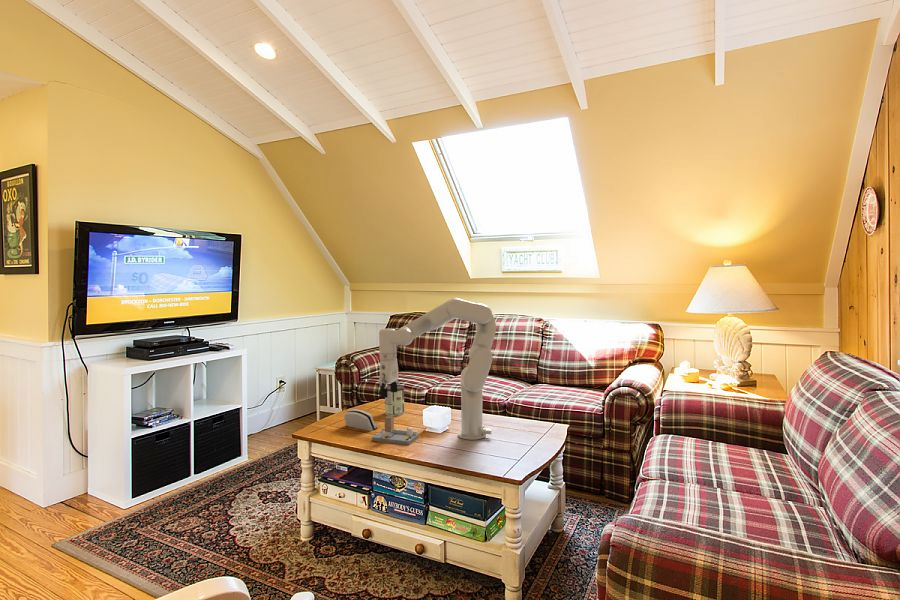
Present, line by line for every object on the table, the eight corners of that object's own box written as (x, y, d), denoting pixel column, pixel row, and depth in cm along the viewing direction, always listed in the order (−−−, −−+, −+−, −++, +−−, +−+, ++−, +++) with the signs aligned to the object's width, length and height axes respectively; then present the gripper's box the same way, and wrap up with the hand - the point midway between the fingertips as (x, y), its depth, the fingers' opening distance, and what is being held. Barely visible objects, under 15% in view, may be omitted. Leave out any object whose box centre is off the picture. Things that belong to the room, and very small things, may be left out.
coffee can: (392, 409, 271) (392, 384, 270) (408, 412, 265) (407, 386, 265) (380, 414, 262) (380, 387, 261) (396, 417, 257) (396, 390, 256)
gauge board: (418, 437, 223) (418, 425, 223) (409, 444, 214) (409, 432, 214) (382, 433, 229) (382, 422, 229) (372, 440, 220) (371, 428, 220)
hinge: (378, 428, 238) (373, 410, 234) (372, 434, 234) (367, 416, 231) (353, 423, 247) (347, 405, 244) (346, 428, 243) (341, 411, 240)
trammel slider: (396, 432, 225) (396, 415, 224) (387, 438, 216) (387, 420, 216) (388, 432, 226) (388, 414, 226) (379, 438, 218) (379, 419, 217)
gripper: (386, 360, 211) (387, 399, 212) (404, 353, 228) (405, 390, 229) (371, 359, 214) (372, 398, 215) (389, 353, 230) (390, 389, 231)
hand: (389, 394), depth 222 cm, fingers open, 9 cm apart
